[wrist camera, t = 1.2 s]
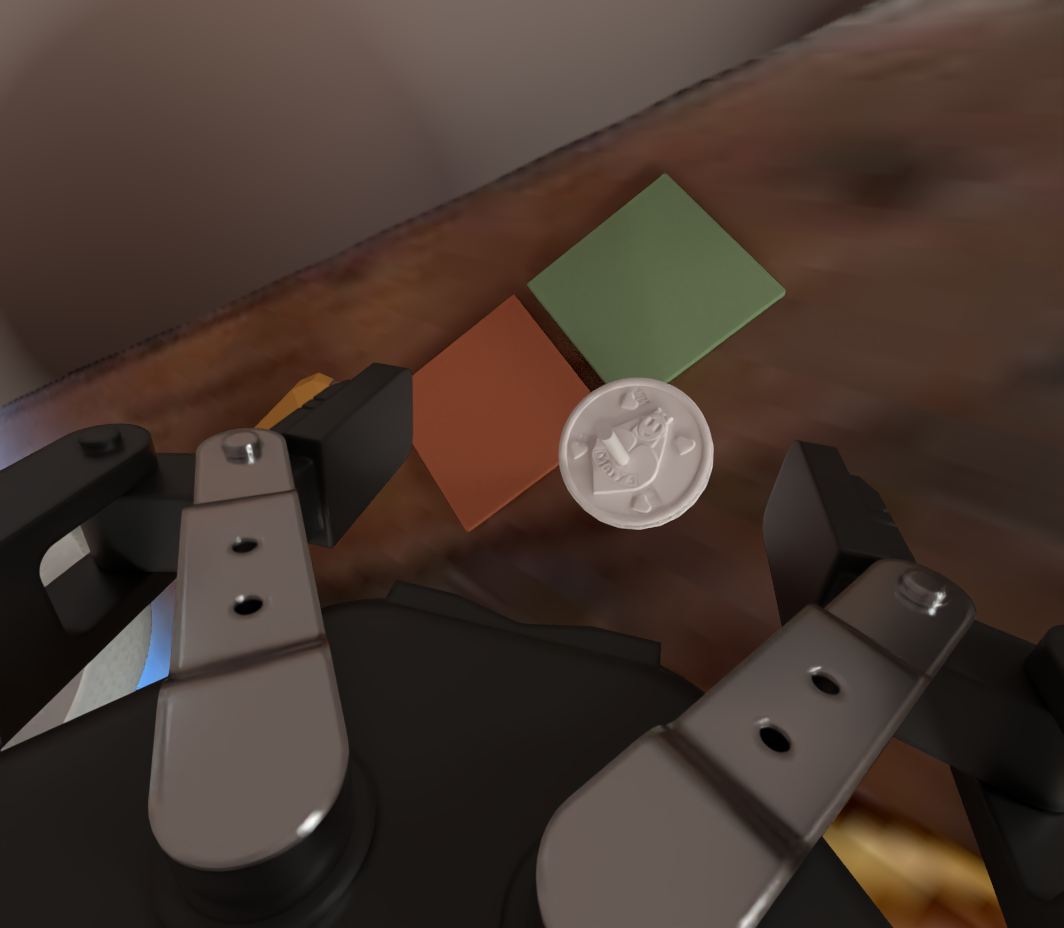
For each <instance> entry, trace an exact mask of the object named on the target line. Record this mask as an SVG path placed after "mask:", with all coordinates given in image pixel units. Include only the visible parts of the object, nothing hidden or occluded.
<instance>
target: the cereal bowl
mask: <svg viewBox="0 0 1064 928" xmlns="http://www.w3.org/2000/svg"><path fill="white" fill-rule="evenodd" d="M89 552H90V549H89V547H88V544H87V542H86V539H85V537H84V534H83V531H82V529H81V526H79V527H77V528H76V529H74V530H73V531H72V532H70V533H69V534H67V535H66V536H65V537H63V538H62V539H61V540H59V541H58V542H56V543H55V544H54V545H53V546H51V547H50V548H49V550H48V551H47V552H46V554H45V555H44V557H43V559H42V561H41V565H40V578H41V580H42V583H43V585H44V587H45V586H47V585H48V584H49V583H50V582H52V581H53V580H54V579H56V578H57V577H58V576H59V575H61V574H62V573H63V572H65V571H66V570H67V569H68V568H70V567H71V566H72V565H74V564H75V563H76V562H77V561H79V560H80V559H81V558H83V557H84V556H85V555H86V554H88V553H89ZM151 614H152V611H151V604H149V605H148V606H147V607H146V608H145V609H144V610H143V611H142V612H141V613H140V614H139V615H138V616H137V617H136V618H135V619H134V620H133V621H132V622H131V623H129V624H128V625H127V626H126V627H125V628H124V629H123V630H122V631H121V632H120V633H119V634H118V635H117V636H116V637H115V638H114V639H113V640H112V641H111V642H110V643H109V644H108V645H107V646H106V647H105V648H104V649H103V650H102V651H101V652H100V653H99V654H98V655H97V656H96V657H95V658H94V659H93V660H92V661H91V662H90V663H89V664H88V665H87V666H86V667H85V668H84V669H83V670H81V671H80V672H79V673H78V674H77V675H76V676H75V677H74V678H73V679H72V680H71V681H70V682H69V683H68V684H67V685H66V686H65V687H64V688H63V689H62V690H61V691H60V692H59V693H58V694H57V695H56V696H55V697H54V698H53V699H52V700H51V701H50V702H49V703H48V704H47V705H46V706H45V707H44V708H43V709H42V710H41V711H40V712H39V713H38V714H37V715H36V716H34V717H33V718H32V719H31V720H30V721H29V722H28V723H27V724H26V725H25V726H24V727H23V728H22V729H21V730H20V731H19V732H18V733H17V734H16V735H15V736H14V737H13V738H12V739H11V740H10V741H9V742H8V743H7V744H6V745H5V746H4V747H3V748H2V749H1V751H3V750H5V749H7V748H10V747H12V746H14V745H16V744H18V743H21V742H23V741H25V740H27V739H30V738H32V737H34V736H36V735H38V734H41V733H43V732H45V731H47V730H50V729H52V728H54V727H56V726H59V725H61V724H63V723H65V722H67V721H70V720H72V719H74V718H76V717H79V716H81V715H83V714H85V713H87V712H90V711H92V710H94V709H96V708H99V707H101V706H103V705H105V704H108V703H110V702H112V701H114V700H116V699H119V698H121V697H123V696H125V695H128V694H130V693H132V692H134V691H135V690H136V688H137V685H138V683H139V681H140V679H141V676H142V672H143V670H144V666H145V664H146V659H147V657H148V651H149V646H150V640H151V633H152V629H151V627H152V622H151V621H152V615H151Z"/></svg>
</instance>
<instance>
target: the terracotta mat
mask: <svg viewBox="0 0 1064 928" xmlns="http://www.w3.org/2000/svg"><path fill="white" fill-rule="evenodd" d="M412 379H413V441H412V444H413V445H414V447H415V449H416V450H417V452H418V453H419V455H420V457H421V458H422V460H423V462H424V463H425V465H426V466H427V468H428V470H429V471H430V473H431V475H432V476H433V478H434V479H435V481H436V483H437V484H438V486H439V488H440V489H441V491H442V493H443V494H444V496H445V497H446V499H447V501H448V502H449V504H450V506H451V507H452V509H453V510H454V512H455V514H456V515H457V517H458V519H459V520H460V522H461V524H462V525H463V527H464V528H465V530H466V531H468V532H470V531H472V530H473V529H474V528H476V527H477V526H478V525H480V524H481V523H482V522H484V521H485V520H486V519H488V518H489V517H490V516H492V515H493V514H494V513H496V512H497V511H498V510H500V509H501V508H502V507H504V506H505V505H506V504H508V503H509V502H510V501H512V500H513V499H514V498H516V497H517V496H518V495H520V494H521V493H522V492H524V491H525V490H526V489H528V488H529V487H530V486H532V485H533V484H534V483H536V482H537V481H538V480H540V479H541V478H542V477H544V476H545V475H546V474H548V473H549V472H550V471H552V470H553V469H554V468H556V467H557V466H558V465H559V457H558V455H559V442H560V437H561V434H562V430H563V428H564V425H565V423H566V421H567V419H568V417H569V416H570V414H571V413H572V411H573V410H574V408H575V407H576V406H577V405H578V404H579V403H580V402H581V401H582V400H583V399H584V398H585V397H586V396H587V395H588V394H590V393H591V392H590V391H589V389H588V388H587V387H586V386H585V384H584V383H583V382H582V381H581V379H580V378H579V377H578V375H577V374H576V373H575V372H574V370H573V369H572V368H571V366H570V365H569V364H568V363H567V361H566V360H565V359H564V357H563V356H562V355H561V354H560V352H559V351H558V350H557V349H556V347H555V346H554V345H553V343H552V342H551V341H550V340H549V338H548V337H547V336H546V334H545V333H544V332H543V331H542V329H541V328H540V327H539V326H538V324H537V323H536V322H535V320H534V319H533V318H532V317H531V315H530V314H529V313H528V311H527V310H526V309H525V308H524V306H523V305H522V304H521V302H520V301H519V300H518V299H517V297H516V296H515V295H514V294H513V295H512V296H511V297H510V298H508V299H507V300H506V301H505V302H503V303H502V304H501V305H500V306H498V307H497V308H496V309H495V310H493V311H492V312H491V313H490V314H488V315H487V316H486V317H485V318H483V319H482V320H481V321H480V322H478V323H477V324H476V325H475V326H473V327H472V328H471V329H470V330H468V331H467V332H466V333H465V334H463V335H462V336H461V337H460V338H458V339H457V340H456V341H455V342H454V343H452V344H451V345H450V346H449V347H447V348H446V349H445V350H444V351H442V352H441V353H440V354H439V355H437V356H436V357H435V358H434V359H432V360H431V361H430V362H429V363H427V364H426V365H425V366H424V367H422V368H421V369H420V370H419V371H417V372H416V373H415V374H414V375H412Z"/></svg>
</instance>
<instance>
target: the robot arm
mask: <svg viewBox="0 0 1064 928" xmlns="http://www.w3.org/2000/svg"><path fill="white" fill-rule="evenodd" d="M412 441H413V379H412V374H411V371H410V370H409V369H408V368H403V367H397V366H392V365H386V364H381V363H373V364H371V365H370V366H369V367H367V368H366V369H365V370H363V371H362V372H361V373H359V374H358V375H357V376H355V377H354V378H353V379H352V380H346V381H343V382H340V383H337V384H334V385H331V386H328V387H326V388H325V389H324V390H322V391H321V392H319V393H318V394H317V395H315V396H314V397H313V399H310V400H308V401H307V402H306V403H304V404H303V405H302V407H301V408H297V409H296V410H295V411H293V412H292V413H291V414H289V415H288V416H286V417H285V418H284V419H282V420H281V421H280V422H278V423H277V424H275V425H274V426H273V427H271V428H270V429H269V430H268V429H262V428H240V429H233V430H229V431H225V432H221V433H218V434H216V435H213V436H211V437H210V438H208V439H206V440H205V441H203V442H202V443H201V444H200V445H199V447H198V448H197V451H196V454H191V453H156V452H155V449H154V445H153V442H152V438H151V435H150V433H149V431H148V430H146V429H145V428H143V427H140V426H136V425H131V424H106V425H98V426H93V427H88V428H84V429H81V430H78V431H75V432H72V433H70V434H68V435H66V436H64V437H62V438H60V439H58V440H56V441H54V442H53V443H51V444H49V445H47V446H45V447H43V448H41V449H40V450H38V451H36V452H34V453H32V454H30V455H29V456H27V457H25V458H23V459H21V460H19V461H17V462H16V463H14V464H12V465H10V466H8V467H6V468H5V469H3V470H1V471H0V928H893V927H892V926H891V924H890V923H889V922H888V921H887V919H886V918H885V917H884V915H883V914H882V913H881V912H880V910H879V909H878V908H877V906H876V905H875V904H874V902H873V901H872V900H871V899H870V897H869V896H868V895H867V893H866V892H865V891H864V890H863V888H862V887H861V886H860V884H859V883H858V882H857V881H856V879H855V878H854V877H853V875H852V874H851V873H850V872H849V870H848V869H847V868H846V866H845V865H844V864H843V863H842V861H841V860H840V859H839V857H838V856H837V855H836V853H835V852H834V851H833V850H832V848H831V847H830V846H829V844H828V843H827V842H826V841H825V839H824V838H823V837H822V836H823V835H824V833H825V832H826V831H827V829H828V828H829V826H830V825H831V823H832V822H833V821H834V819H835V818H836V816H837V815H838V814H839V812H840V811H841V809H842V808H843V806H844V805H845V804H846V802H847V801H848V799H849V798H850V797H851V795H852V794H853V792H854V791H855V789H856V788H857V787H858V785H859V784H860V782H861V781H862V780H863V778H864V777H865V775H866V774H867V772H868V771H869V770H870V768H871V767H872V765H873V764H874V763H875V761H876V760H877V758H878V757H879V756H880V754H881V753H882V751H883V750H884V748H885V747H886V746H887V744H888V743H889V741H890V740H891V739H892V737H894V738H896V739H898V740H900V741H902V742H904V743H907V744H909V745H911V746H913V747H915V748H917V749H919V750H921V751H923V752H925V753H927V754H929V755H931V756H933V757H935V758H937V759H939V760H941V761H943V762H945V763H947V764H949V765H950V768H951V772H952V774H953V777H954V780H955V783H956V786H957V788H958V791H959V794H960V797H961V799H962V802H963V805H964V808H965V810H966V813H967V816H968V819H969V822H970V824H971V827H972V830H973V833H974V835H975V838H976V841H977V844H978V846H979V849H980V852H981V855H982V858H983V860H984V863H985V866H986V869H987V871H988V874H989V877H990V880H991V882H992V885H993V888H994V891H995V894H996V896H997V899H998V902H999V905H1000V907H1001V910H1002V913H1003V916H1004V918H1005V921H1006V924H1007V927H1008V928H1064V625H1058V626H1054V627H1052V628H1051V629H1049V630H1048V632H1047V633H1046V634H1045V635H1044V637H1043V638H1042V639H1041V640H1040V642H1039V643H1038V644H1037V645H1035V644H1033V643H1030V642H1028V641H1025V640H1023V639H1020V638H1018V637H1015V636H1013V635H1010V634H1008V633H1005V632H1003V631H1000V630H998V629H995V628H993V627H990V626H988V625H986V624H983V623H981V622H979V621H977V620H975V617H976V608H975V605H974V603H973V602H972V600H971V599H970V597H969V596H968V595H967V594H966V593H965V592H964V591H963V590H962V589H961V588H960V587H959V586H958V585H956V584H955V583H954V582H953V581H951V580H950V579H948V578H947V577H945V576H943V575H942V574H940V573H938V572H936V571H934V570H932V569H930V568H928V567H925V566H923V565H920V564H917V563H916V561H915V559H914V557H913V555H912V553H911V552H910V550H909V548H908V546H907V544H906V543H905V541H904V539H903V537H902V535H901V533H900V532H899V530H898V528H897V527H895V522H894V521H893V519H892V517H891V515H890V513H887V508H886V506H885V504H884V502H883V501H882V499H881V497H880V495H879V493H878V492H877V491H875V490H874V489H873V488H872V487H871V486H870V485H868V484H867V483H866V482H865V481H864V480H863V479H861V478H860V477H859V476H854V475H850V474H849V472H848V470H847V468H846V466H845V464H844V462H843V460H842V458H841V456H840V454H839V452H838V450H837V448H835V447H831V446H825V445H820V444H814V443H809V442H803V441H798V440H795V441H794V442H793V443H792V444H791V445H790V447H789V449H788V451H787V454H786V456H785V459H784V461H783V464H782V467H781V469H780V472H779V475H778V477H777V480H776V482H775V485H774V488H773V490H772V493H771V496H770V498H769V501H768V504H767V506H766V510H765V514H764V520H763V537H764V542H765V547H766V552H767V556H768V561H769V566H770V571H771V576H772V581H773V585H774V590H775V595H776V600H777V605H778V610H779V614H780V619H781V624H782V628H780V629H779V630H778V631H777V632H776V633H775V634H774V635H772V636H771V637H770V638H769V639H768V640H767V641H766V642H764V643H763V644H762V645H761V646H760V647H759V648H758V649H756V650H755V651H754V652H753V653H752V654H751V655H749V656H748V657H747V658H746V659H745V660H744V661H743V662H741V663H740V664H739V665H738V666H737V667H736V668H735V669H733V670H732V671H731V672H730V673H729V674H728V675H727V676H725V677H724V678H723V679H722V680H721V681H720V682H719V683H717V684H716V685H715V686H714V687H713V688H712V689H711V690H709V691H708V692H707V693H706V694H705V693H704V692H703V691H702V690H701V689H700V688H698V687H697V686H695V685H694V684H693V683H691V682H690V681H688V680H687V679H686V678H684V677H682V676H681V675H679V674H677V673H675V672H674V671H672V670H670V669H668V668H666V667H664V666H662V665H660V652H661V643H660V642H656V641H652V640H648V639H643V638H639V637H635V636H631V635H626V634H622V633H618V632H614V631H609V630H605V629H601V628H597V627H592V626H565V625H538V624H522V623H518V622H516V621H513V620H511V619H509V618H507V617H505V616H502V615H500V614H498V613H496V612H494V611H492V610H490V609H488V608H486V607H483V606H481V605H479V604H477V603H475V602H473V601H471V600H469V599H466V598H464V597H462V596H460V595H457V594H453V593H449V592H445V591H440V590H436V589H432V588H428V587H423V586H419V585H415V584H411V583H407V582H402V581H398V580H397V581H396V582H395V584H394V585H393V587H392V589H391V590H390V592H389V593H388V595H387V597H386V598H385V599H382V598H376V599H361V600H354V601H348V602H343V603H339V604H335V605H331V606H328V607H325V608H322V609H320V604H319V598H318V593H317V588H316V583H315V578H314V573H313V568H312V563H311V558H310V553H309V548H308V543H310V544H314V545H319V546H323V547H327V548H331V549H332V548H333V547H334V546H335V545H336V543H337V542H338V541H339V540H340V539H341V537H342V536H343V535H344V534H345V532H346V531H347V530H348V529H349V528H350V526H351V525H352V524H353V523H354V522H355V520H356V519H357V518H358V517H359V516H360V514H361V513H362V512H363V511H364V510H365V508H366V507H367V506H368V505H369V504H370V502H371V501H372V500H373V499H374V498H375V496H376V495H377V494H378V493H379V492H380V490H381V489H382V488H383V487H384V486H385V484H386V483H387V482H388V481H389V480H390V478H391V477H392V476H393V475H394V474H395V472H396V471H397V470H398V469H399V467H400V466H401V465H402V464H403V463H404V461H405V460H406V459H407V457H408V455H409V452H410V449H411V446H412ZM79 526H81V529H82V531H83V534H84V537H85V539H86V542H87V544H88V547H89V549H90V552H89V553H88V554H86V555H85V556H84V557H83V558H81V559H80V560H79V561H77V562H76V563H75V564H74V565H72V566H71V567H70V568H68V569H67V570H66V571H65V572H63V573H62V574H61V575H59V576H58V577H57V578H56V579H54V580H53V581H52V582H50V583H49V584H48V585H47V586H45V587H44V585H43V583H42V580H41V578H40V565H41V561H42V559H43V557H44V555H45V554H46V552H47V551H48V550H49V548H50V547H51V546H53V545H54V544H55V543H56V542H58V541H59V540H61V539H62V538H63V537H65V536H66V535H67V534H69V533H70V532H72V531H73V530H74V529H76V528H77V527H79ZM176 577H177V582H176V595H175V608H174V621H173V634H172V647H171V660H170V670H169V675H168V677H165V678H163V679H161V680H159V681H157V682H154V683H152V684H150V685H148V686H145V687H143V688H141V689H139V690H136V691H134V692H132V693H130V694H128V695H125V696H123V697H121V698H119V699H116V700H114V701H112V702H110V703H108V704H105V705H103V706H101V707H99V708H96V709H94V710H92V711H90V712H87V713H85V714H83V715H81V716H79V717H76V718H74V719H72V720H70V721H67V722H65V723H63V724H61V725H59V726H56V727H54V728H52V729H50V730H47V731H45V732H43V733H41V734H38V735H36V736H34V737H32V738H30V739H27V740H25V741H23V742H21V743H18V744H16V745H14V746H12V747H10V748H7V749H5V750H3V751H1V749H2V748H3V747H4V746H5V745H6V744H7V743H8V742H9V741H10V740H11V739H12V738H13V737H14V736H15V735H16V734H17V733H18V732H19V731H20V730H21V729H22V728H23V727H24V726H25V725H26V724H27V723H28V722H29V721H30V720H31V719H32V718H33V717H34V716H36V715H37V714H38V713H39V712H40V711H41V710H42V709H43V708H44V707H45V706H46V705H47V704H48V703H49V702H50V701H51V700H52V699H53V698H54V697H55V696H56V695H57V694H58V693H59V692H60V691H61V690H62V689H63V688H64V687H65V686H66V685H67V684H68V683H69V682H70V681H71V680H72V679H73V678H74V677H75V676H76V675H77V674H78V673H79V672H80V671H81V670H83V669H84V668H85V667H86V666H87V665H88V664H89V663H90V662H91V661H92V660H93V659H94V658H95V657H96V656H97V655H98V654H99V653H100V652H101V651H102V650H103V649H104V648H105V647H106V646H107V645H108V644H109V643H110V642H111V641H112V640H113V639H114V638H115V637H116V636H117V635H118V634H119V633H120V632H121V631H122V630H123V629H124V628H125V627H126V626H127V625H128V624H129V623H131V622H132V621H133V620H134V619H135V618H136V617H137V616H138V615H139V614H140V613H141V612H142V611H143V610H144V609H145V608H146V607H147V606H148V605H149V604H150V603H151V602H152V601H153V600H154V599H155V598H156V597H157V596H158V595H159V594H160V593H161V592H162V591H163V590H164V589H165V588H166V587H167V586H168V585H169V584H170V583H171V582H172V581H173V580H174V579H175V578H176Z"/></svg>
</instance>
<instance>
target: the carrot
mask: <svg viewBox="0 0 1064 928" xmlns="http://www.w3.org/2000/svg"><path fill="white" fill-rule="evenodd" d="M337 383H340V382H339V381H336V380H334V379H333V378H330V377H328V376H325V375H323V374H321V373H316V374H314V375H312V376H309V377H307V378H305V379H302V380H300V381H299V382H298V383H297V384H296V385H295V386H294V387H293V388H292V389H291V390H290V391H289V392H288V393H287V394H286V395H285V397H284V398H283V399H282V400H281V401H280V402H279V403H278V404H277V405H276V406H275V407H274V408H273V409H272V410H271V411H270V412H269V413H268V414H267V415H266V416H265V417H264V418H263V419H262V420H261V421H260V422H259V423H258V424H257V425H256V427H255V428H262V429H268V430H269V429H270V428H271V427H273V426H274V425H275V424H277V423H278V422H280V421H281V420H282V419H284V418H285V417H286V416H288V415H289V414H291V413H292V412H293V411H295V410H296V409H297V408H301V407H302V405H303V404H304V403H306V402H307V401H308V400H310V399H313V397H314V396H315V395H317V394H318V393H319V392H321V391H322V390H324V389H325V388H326V387H328V386H331V385H334V384H337Z"/></svg>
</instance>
